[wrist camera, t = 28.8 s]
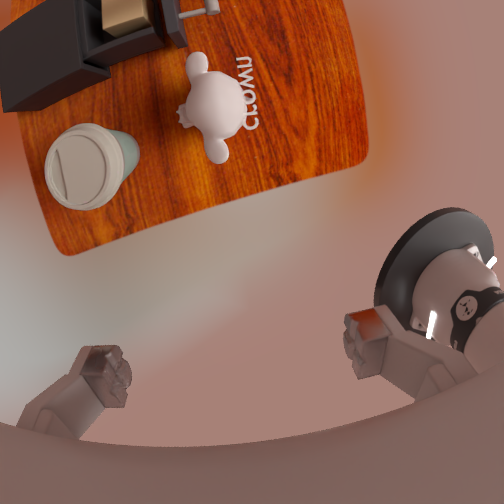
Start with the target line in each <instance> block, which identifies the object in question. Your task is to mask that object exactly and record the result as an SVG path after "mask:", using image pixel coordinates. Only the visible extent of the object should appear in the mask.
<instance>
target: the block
mask: <svg viewBox="0 0 504 504" xmlns="http://www.w3.org/2000/svg"><path fill="white" fill-rule="evenodd" d="M102 23H103V30H105V31H106V32H108V33H109V34H111V35H112V36H114V37H115V38H117V39H118V38H121V37H124V36H126V35H129V34H132V33H135V32H137V31H140V30H143V29H146V28H149V27H153V28H154V29H155V30H156V22H155V13H154V3H153V1H152V0H102Z"/></svg>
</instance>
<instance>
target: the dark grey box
mask: <svg viewBox="0 0 504 504" xmlns="http://www.w3.org/2000/svg"><path fill="white" fill-rule="evenodd" d="M108 78H111V74H110V68H109V66H108V67H105V68H104V67H101V66H99V65H96V64H93V63H90V62H87V61H84V60H83V57H82V50H81V42H80V33H79V23H78V11H77V0H46V1H44V2H43V3H41V4H39V5H38V6H36V7H35V8H33V9H31V10H30V11H28V12H27V13H25V14H24V15H22V16H21V17H20V18H18V19H17V20H15V21H14V22H12V23H11V24H10V25H8V26H7V27H6V28H4V29H3V30H2V31H0V91H1V99H2V107H3V112H4V113H6V112H19V111H36V110H42V109H44V108H46V107H48V106H50V105H52V104H54V103H56V102H58V101H59V100H61V99H63V98H65V97H68V96H70V95H72V94H74V93H76V92H78V91H80V90H82V89H85V88H87V87H89V86H91V85H94V84H96V83H99V82H101V81H103V80H106V79H108Z"/></svg>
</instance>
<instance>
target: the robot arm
mask: <svg viewBox="0 0 504 504" xmlns="http://www.w3.org/2000/svg"><path fill="white" fill-rule="evenodd" d="M496 260H497V259H496V258H495V257H493V258H492V259H491V260H490V261H489V263H488V264H487V265H485V264H484V263H483V261H482V258H481V255H480V253H479V250H478V248H477V246H476V245H475V244H473V243H471V244H469V245H467V246H465V247H463V248H461V249H452V250H448V251H446V252H443V253H442V254H440V255H439V256H437V257H436V258H435V259H434V260H432V261H431V262H430V263H429V265H428V266H427V267H426V268H425V270H424V271H423V272H422V274H421V276H420V277H419V279H418V281H417V283H416V286H415V289H414V292H413V298H412V305H413V313H412V316H411V319H410V326H411V327H412V328H414V329H417V330H421V331H425V332H427V336H426V337H424V336H422V335H419V334H417V333H415V332H412V331H410V330H408V331H405V330H404V328H403V327H402V325H401V324H400V323H399V321H398V320H397V319H396V317H395V316H394V315H393V313H392V312H391V311H390V309H389V308H388V307H387V306H386V305H381V306H377V307H373V308H371V309H366V310H362V311H358V312H353V313H349V314H346V315H345V320H344V324H345V326H346V328H347V329H346V331H345V332H344V338H343V340H344V348H345V351H346V354H347V356H348V358H350V359H351V360H353V363H352V368H353V370H354V372H355V374H356V376H357V378H358V379H363V378H367V377H371V376H375V375H379V374H380V375H381V376H382V377H384V378H385V379H387V380H388V381H389V382H391V383H393V384H394V385H395V386H397V387H398V388H400V389H401V390H403V391H404V392H406V393H407V394H409V395H410V396H411V397H413V398H415V402H414V403H413V404H411V405H407V406H405V407H402V408H399V409H396V410H393V411H390V412H387V413H384V414H381V415H378V416H375V417H371V418H368V419H365V420H361V421H358V422H354V423H351V424H347V425H343V426H339V427H335V428H331V429H326V430H322V431H318V432H313V433H308V434H303V435H298V436H292V437H286V438H280V439H274V440H268V441H261V442H252V443H243V444H232V445H219V446H200V447H145V446H128V445H115V444H105V443H97V442H89V441H81V440H79V438H80V437H81V436H82V435H83V434H84V433H85V431H86V430H87V429H88V428H89V427H90V425H91V424H92V423H93V422H94V421H95V420H96V419H97V417H98V416H99V415H100V414H101V413H102V412H103V410H104V409H105V408H124V406H125V402H126V399H127V395H128V394H127V392H126V389H127V388H128V387H129V386H130V384H131V381H132V372H131V368H130V366H129V364H128V362H127V361H126V360H124V359H123V358H122V354H123V352H122V351H121V349H120V347H119V346H117V345H105V346H104V345H103V346H84V347H82V348H81V350H80V351H79V353H78V356H77V357H76V360H75V362H74V363H73V365H72V368H71V370H70V372H69V374H68V375H64V376H63V377H61V378H60V379H59V380H57V381H56V382H55V383H54V384H52V385H51V386H50V387H49V388H47V389H46V390H45V391H43V392H42V393H41V394H39V395H38V396H37V397H36V398H34V399H33V400H32V401H31V402H29V403H28V404H27V405H26V406H25V408H24V410H23V412H22V415H21V417H20V419H19V421H18V423H17V425H16V427H15V426H11V425H8V424H4V423H1V422H0V504H504V291H502V290H501V289H500V288H499V286H500V283H499V282H498V280H497V276H496V274H495V273H494V272H493V271H492V270H491V269H490V268H491V267H492V265H493V264H494V263H495V262H496ZM431 336H432V337H433V339H434V340H435V341H433V340H431V339H430V337H431ZM445 345H451V346H452V348H453V349H452V348H450V347H448V346H445Z"/></svg>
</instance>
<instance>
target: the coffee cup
mask: <svg viewBox="0 0 504 504" xmlns="http://www.w3.org/2000/svg"><path fill="white" fill-rule="evenodd" d="M139 157H140V150H139V146H138V143H137V141H136V140H135V139H134V138H133V137H132V136H131V135H130V134H128V133H125V132H120V131H115V130H110V129H105V128H103V127H101V126H99V125H96V124H91V123H84V124H79V125H76V126H73V127H71V128H69V129H68V130H66V131H65V132H63V133H62V134H61V135H60V136H59V137H58V138H57V140H56V141H55V142H54V143H53V144H52V146H51V147H50V149H49V151H48V154H47V157H46V160H45V179H46V183H47V186H48V188H49V191H50V192H51V194H52V195H53V197H54V198H55V199H56V200H57V201H58V202H59V203H60V204H62V205H63V206H65V207H67V208H70V209H75V210H91V209H95V208H98V207H100V206H102V205H104V204H106V203H107V202H108V201H109V200H110V199H111V198H112V197H113V196H114V195H115V193H116V192H117V190H118V188H119V186H120V184H121V183H122V182H123V181H124V180H125V179H126V177H127V176H128V175H129V174H130V173H131V172H132V171H133V170H134V169H135V167H136V166H137V164H138V161H139Z"/></svg>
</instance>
